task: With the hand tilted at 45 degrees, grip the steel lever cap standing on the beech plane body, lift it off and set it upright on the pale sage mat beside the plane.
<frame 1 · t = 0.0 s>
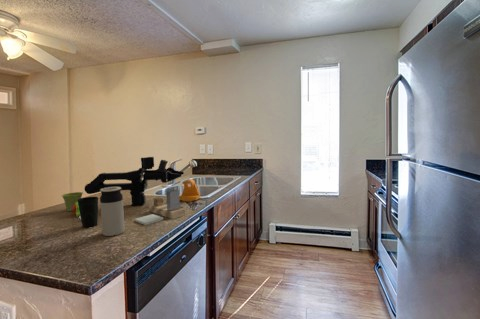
hand: (182, 174, 147), 17 cm above the counter, tool horizontal, fingers open, 9 cm apart
plane body: (166, 213, 128), on the counter
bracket: (189, 200, 154), on the counter
cup: (90, 226, 112), on the counter
plant pot: (73, 210, 138), on the counter
travel mug: (113, 233, 103), on the counter
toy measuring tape: (81, 216, 127), on the counter
lever cap: (173, 209, 124), point 3 cm above the counter, touching plane body
sage mat: (149, 220, 118), on the counter
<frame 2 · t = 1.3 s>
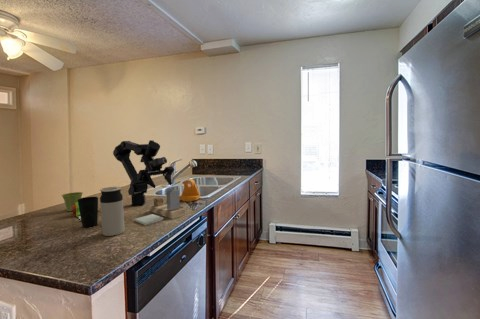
hand: (163, 186, 128), 13 cm above the counter, tool tilted 45°, fingers open, 9 cm apart
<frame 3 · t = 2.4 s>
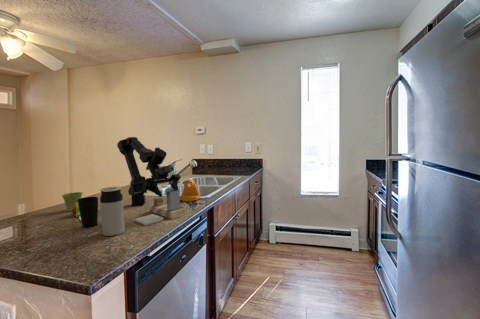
hand: (170, 194, 125), 10 cm above the counter, tool tilted 45°, fingers open, 9 cm apart
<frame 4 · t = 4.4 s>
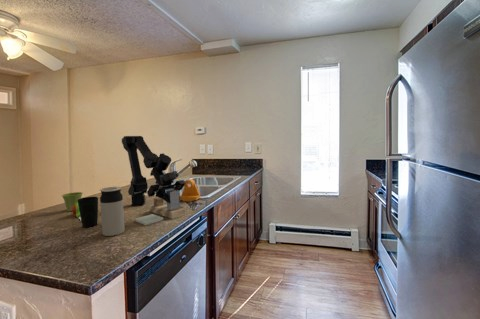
hand: (174, 201, 123), 7 cm above the counter, tool tilted 45°, fingers closed on lever cap, 5 cm apart
lever cap: (173, 209, 124), point 3 cm above the counter, touching gripper, plane body
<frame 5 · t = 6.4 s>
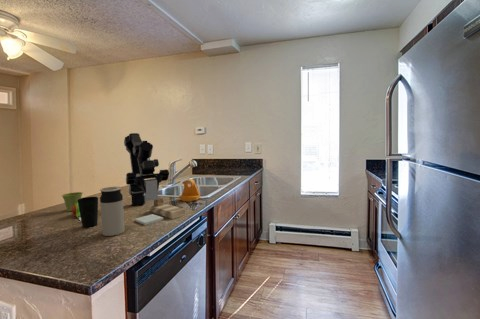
hand: (151, 191, 116), 13 cm above the counter, tool tilted 45°, fingers closed on lever cap, 5 cm apart
lever cap: (151, 199, 117), point 9 cm above the counter, touching gripper
when the fingers open (7 cm above the counter, at t = 8.6 s): lever cap drops 2 cm, resting on sage mat.
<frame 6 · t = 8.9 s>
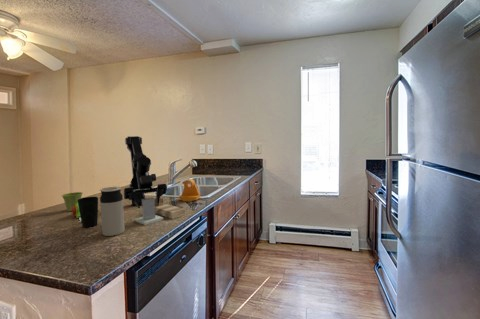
hand: (148, 206, 116), 7 cm above the counter, tool tilted 45°, fingers open, 8 cm apart
lever cap: (149, 218, 117), point 1 cm above the counter, touching sage mat
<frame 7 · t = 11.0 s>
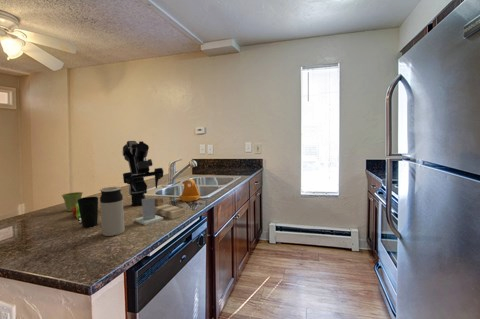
hand: (146, 189, 125), 12 cm above the counter, tool tilted 40°, fingers open, 9 cm apart
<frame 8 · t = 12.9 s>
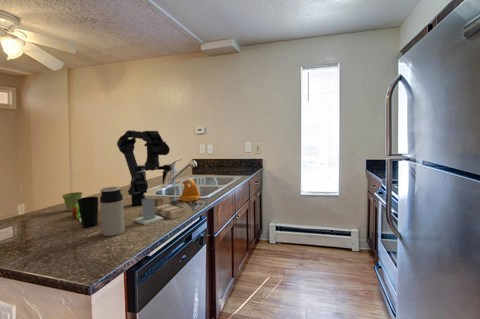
hand: (154, 184, 136), 13 cm above the counter, tool pointing down, fingers open, 9 cm apart
at the end: lever cap 0.0 cm off-centre on the sage mat, point 1.0 cm above the sage mat's base; lever cap tilted 0°; the gripper is holding nothing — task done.
